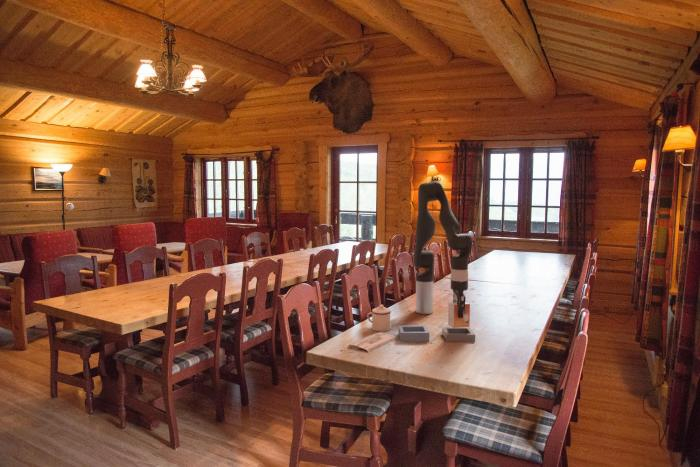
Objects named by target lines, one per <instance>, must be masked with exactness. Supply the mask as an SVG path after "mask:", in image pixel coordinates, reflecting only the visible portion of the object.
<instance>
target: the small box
mask: <svg viewBox="0 0 700 467" xmlns="http://www.w3.org/2000/svg"><path fill="white" fill-rule="evenodd" d="M447 306H448V309H447V312H448V314H447V317H448V318H447V325H448V326H450V327H453V328H458V327H470V323H471V322H470V320H471V319H470V318H471V317H470V316H471V304H470V303H469V302H467V301H465V309H464V310H463V318H458V305H457V304H456V302H453V301H451V302H448V305H447ZM461 307H462V305H461Z"/></svg>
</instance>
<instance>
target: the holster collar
mask: <svg viewBox="0 0 700 467" xmlns="http://www.w3.org/2000/svg"><path fill="white" fill-rule="evenodd" d="M441 334H442V336H443V338H444V340H445V342H476V334H475V332H474V331H473V330H472V329H471V327H470V326H469V327H458V328H453V327H451V326H450V327H447V326H446V327H442V328H441Z"/></svg>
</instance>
